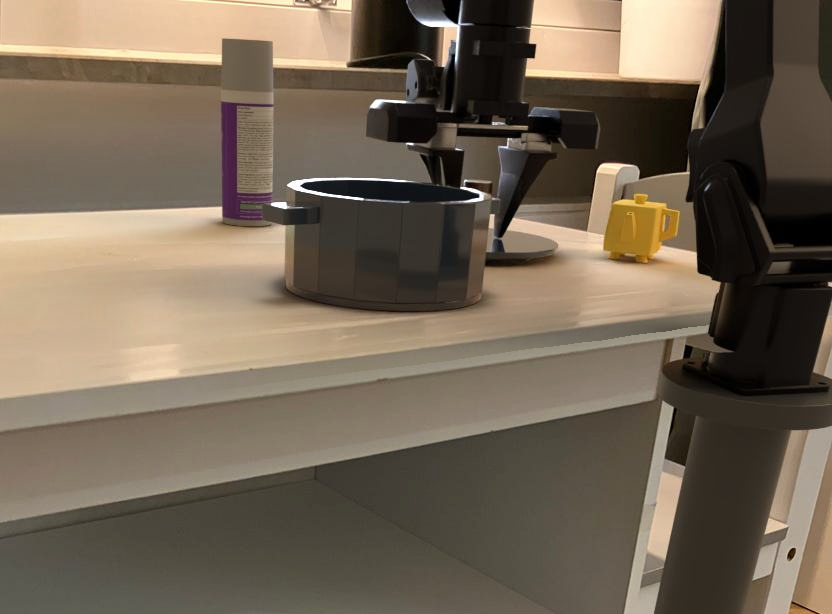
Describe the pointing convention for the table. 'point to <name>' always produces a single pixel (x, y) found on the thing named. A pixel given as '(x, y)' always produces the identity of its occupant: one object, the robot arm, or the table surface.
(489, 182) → the lid
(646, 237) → the teapot
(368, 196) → the pot
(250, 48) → the container
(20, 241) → the table surface
